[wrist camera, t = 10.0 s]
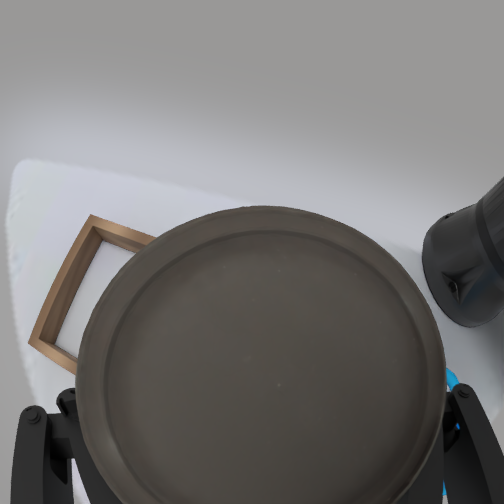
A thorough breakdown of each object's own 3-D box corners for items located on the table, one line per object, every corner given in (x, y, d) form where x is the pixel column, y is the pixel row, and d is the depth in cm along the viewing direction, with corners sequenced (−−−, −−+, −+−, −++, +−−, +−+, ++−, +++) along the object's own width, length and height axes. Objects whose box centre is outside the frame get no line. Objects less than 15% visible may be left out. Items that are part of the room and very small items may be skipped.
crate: (221, 273, 27) (221, 260, 25) (169, 415, 21) (162, 418, 18) (99, 229, 28) (90, 214, 25) (44, 348, 22) (27, 343, 19)
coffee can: (142, 414, 17) (23, 446, 4) (207, 294, 21) (198, 156, 9) (275, 474, 16) (363, 577, 3) (332, 351, 20) (469, 290, 8)
